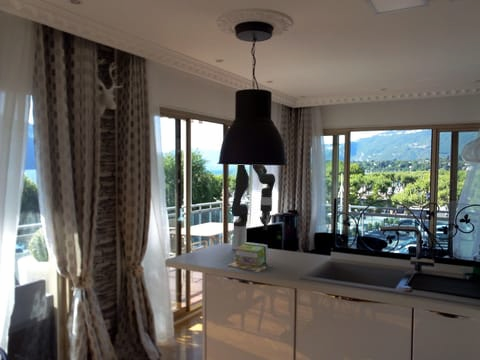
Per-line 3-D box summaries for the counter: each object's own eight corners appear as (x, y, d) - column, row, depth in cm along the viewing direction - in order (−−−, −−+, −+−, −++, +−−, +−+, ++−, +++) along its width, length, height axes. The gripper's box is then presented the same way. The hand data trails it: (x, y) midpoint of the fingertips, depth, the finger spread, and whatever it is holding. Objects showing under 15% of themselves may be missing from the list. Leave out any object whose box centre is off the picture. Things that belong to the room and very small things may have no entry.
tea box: (267, 244, 248) (257, 251, 235) (268, 259, 249) (258, 267, 236) (246, 241, 255) (235, 248, 242) (246, 256, 256) (235, 264, 243)
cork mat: (227, 266, 241) (227, 263, 241) (241, 261, 255) (241, 258, 255) (253, 270, 232) (254, 267, 232) (266, 265, 245) (266, 262, 245)
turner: (259, 272, 228) (259, 270, 228) (253, 271, 230) (253, 269, 230) (272, 266, 242) (272, 264, 242) (267, 265, 244) (267, 263, 244)
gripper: (266, 202, 270) (265, 228, 271) (256, 204, 259) (255, 230, 260) (276, 203, 266) (275, 229, 267) (266, 205, 255) (265, 232, 256)
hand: (265, 229), depth 264 cm, fingers closed
